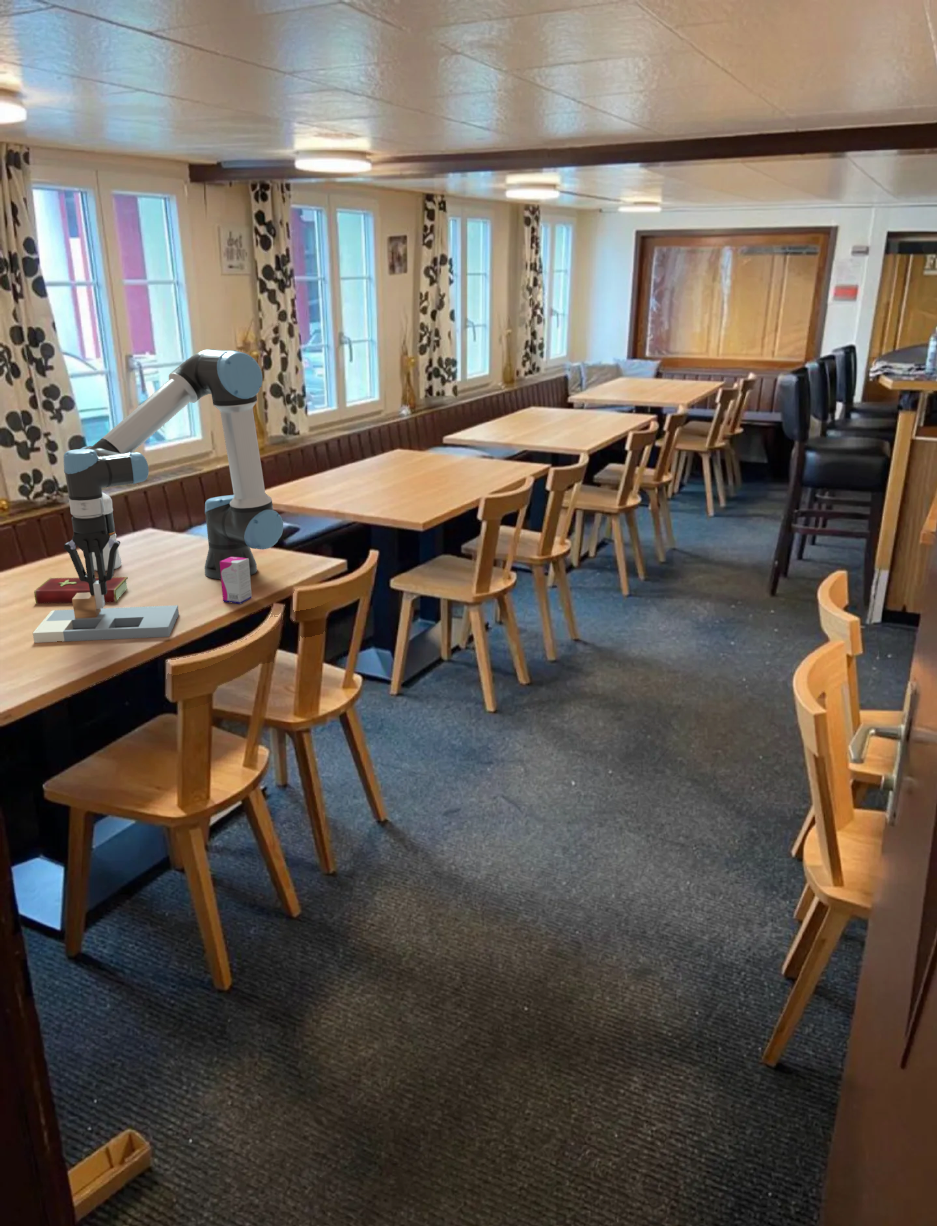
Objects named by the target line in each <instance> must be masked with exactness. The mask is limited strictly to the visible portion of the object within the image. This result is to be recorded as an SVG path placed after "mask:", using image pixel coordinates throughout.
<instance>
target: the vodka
mask: <svg viewBox="0 0 937 1226" xmlns="http://www.w3.org/2000/svg"><path fill="white" fill-rule="evenodd" d="M102 497H103V504H104V512H103V513H102V514H104V515H105V519H106V526H107V532H108V534H109V535H110V538H111V539H113V540H115V541H117V534H116V529H115V522H114V514H113V511H114V508H113V499H112V498H111V496H110V495H109V494H106V493H105V492H103V491H102ZM110 549H111V548H109V543H107V544H106V546H105V548H104V549H103V558H104V566H105V572H107V568H108V560H109V553H110ZM92 558H93V565H94V572H98V571H97V564H96V557H95V553H94V552H92ZM122 563H123V562H122V557H121V556H120V552H119V548H118V549H117V553H116V560H115V567H114V570H116V569H119V568H120V567H121V566H122Z"/></svg>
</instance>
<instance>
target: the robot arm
mask: <svg viewBox="0 0 937 1226" xmlns="http://www.w3.org/2000/svg"><path fill="white" fill-rule="evenodd" d="M262 385H263V372H262V369H261V367H260V365H259V363H258V362H257V360H256V359H255V358H253V357H252V356H251V355H249V354H248V353H245V352H241V351H239V350H229V349H214V348H209V349H203V350H201V351H198V352H196V353H195V354H193V355H191V356H190V357H189V358H187V359H186V360H185V361H184V362H182V363H181V364H179V365H178V366H177V367H176V368H175V369H174V370H172V371H171V372H170V373H169V375H168V381H166V382H165V383H164V384H163V385H162V386H160V387H159V388H158V389H157V390H156V391H154V393H152V394H151V395H150V396H149V397H147V399H145V400H144V401H143V402H142V403H141V404H139V405H138V407H136V408H135V409H134V410H133V411H131V412H130V413H129V414H128V415H127V416H126V417H125V418H123V419H122V420H121V421H120V422H119V423H118V424H116V425H115V426H114V427H113V428H112V429H110V430H109V432H107V433H106V434H105V435H104V436H103V437H101V439H99V440H98V441H96V442H95V443H94V444H93V445H88V446H87V445H86V446H83V447H81V448H79V449H71V450H67V451H66V452H64V454H63V472H64V476H65V482H66V488H67V494H68V495H67V496H68V502H69V503H68V504H69V508H70V514H71V515H72V517H71V524H72V530H73V535H72V539H71V540H70V541H68V542H66V543H64V545H63V549H64V550H65V551H66V552H67V553H68V554H69V557H70V559H71V562H72V565H73V567H74V570H75V571H76V573H77V576H78V577H79V579H80V581H85V582H88V584H89V589H90V594H91V595H95V601H96V608H97V609H103V608H105V606H106V602H105V600H104V595H106V593H107V584H106V581H108V580H111V579H112V577H114V574H115V573H114V572H115V569H114V567H115V560H116V553H117V549H118V550H119V547H120V545H121V542H120V540H116V541H115V540H113V539H111V538H110V535H109V534H108V532H107V526H106V519H105V515H104V514H102V513H103V512H104V504H103V497H102V492H103V489H106V488H112V487H118V486H125V485H127V486H128V485H135V484H138V483H143V482H145V481H146V480H147V479H148V477H149V474H150V473H149V472H150V470H149V463H148V461H147V459H146V457H145V455H144V454H142V453H141V452H137V451H136V450H137V449H138V448H139V447H141V446H142V445H143V444H144V443H145V442H146V441H147V440H149V439H150V438H151V437H152V436H153V435H154V434H155V433H157V431H158V430H159V429H161V428H162V427H163V426H164V425H166V423H168V422H169V421H170V420H171V419H172V418H173V417H174V416H176V415H177V414H178V413H179V412H180V411H181V410H183V408H185V407H186V406H187V405H188V404H189V403H192V404H193V403H194V404H195V403H196V402H198V401H199V400H200V399H201V398H203V397H205V396H208V395H211V399H212V405H213V407H214V408H216V409H217V410H219V413H220V419H221V425H222V430H223V436H224V444H225V450H226V455H227V462H228V468H229V474H230V480H231V486H232V492H233V494H230V495H221V496H215V497H210V498H208V499H206V501H205V503H204V514H205V521H206V532H207V542H208V551H207V555H206V560H205V563H204V575H205V577H207V578H209V579H210V578H211V579H215V580H221V571H220V561H222V560H225V559H227V558H229V557H240V558H249V568H250V577H251V576H253V575H255V574H257V572H258V565H257V562H256V559H255V556H254V554H253V552H252V550H251V549H256V550H260V551H261V550H263V551H264V550H267V549H270V548H272V547H274V545H276V544H277V543H278V541H279V540H280V539H281V537H282V535H283V531H284V521H283V517H282V516H281V515H280V514H279V513H278V511H276V510H274V506H273V500H272V497H271V496H269V495H268V494H267V493H266V489H265V482H264V476H263V475H264V474H263V469H262V462H261V455H260V449H259V442H258V435H257V428H256V421H255V415H254V406H255V405H256V404H257V402H258V393H259V392H260V388H261V387H262ZM135 451H136V452H135ZM107 543H109V548H111V549H110V553H109V560H108V568H107V571H105V566H104V558H103V549H104V548H105V546H106V544H107ZM77 547H78V549H80V550H81V551H82V552H83V557H84V563H85V564H84V565H85V567H84V565H83V562H82V560H81V557H80V554H79V553H78V550H77ZM92 552H94V553H95V557H96V564H97V571H96V572H97V576H96V575H95V574H96V573H95V570H94V565H93V558H92ZM85 569H86V570H85ZM96 577H98V578H99V581H95V579H96Z"/></svg>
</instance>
